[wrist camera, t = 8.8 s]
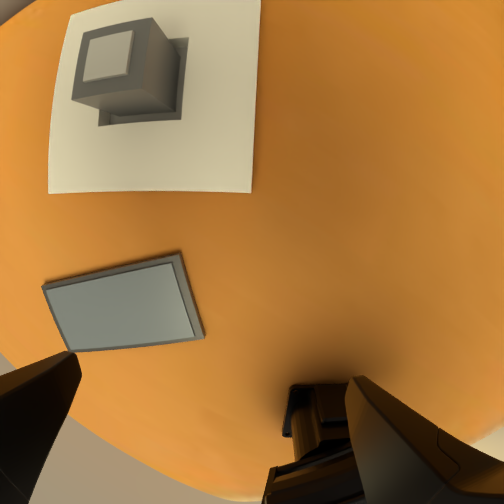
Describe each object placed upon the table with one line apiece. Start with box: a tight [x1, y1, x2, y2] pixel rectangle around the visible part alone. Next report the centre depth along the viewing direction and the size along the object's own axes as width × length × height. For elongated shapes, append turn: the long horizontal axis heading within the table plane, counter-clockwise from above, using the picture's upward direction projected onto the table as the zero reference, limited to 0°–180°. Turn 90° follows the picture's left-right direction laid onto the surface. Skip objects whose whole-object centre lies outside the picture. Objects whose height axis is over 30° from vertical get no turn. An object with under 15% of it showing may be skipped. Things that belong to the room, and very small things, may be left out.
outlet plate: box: [48, 0, 261, 194], centre depth 16 cm, size 14×14×2 cm
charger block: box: [71, 17, 181, 117], centre depth 13 cm, size 4×4×6 cm
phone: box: [41, 252, 206, 353], centre depth 21 cm, size 6×13×1 cm, turn 102°
